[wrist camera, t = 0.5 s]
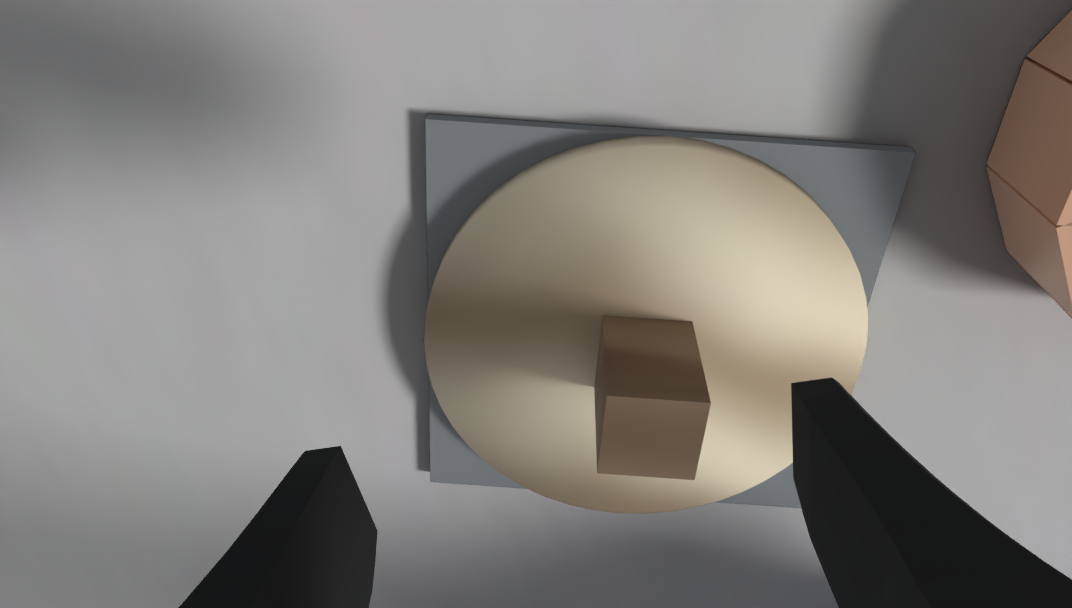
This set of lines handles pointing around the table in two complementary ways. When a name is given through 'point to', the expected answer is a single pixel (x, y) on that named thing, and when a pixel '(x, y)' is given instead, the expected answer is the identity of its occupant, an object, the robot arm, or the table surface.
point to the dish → (1039, 166)
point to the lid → (641, 323)
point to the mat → (514, 145)
